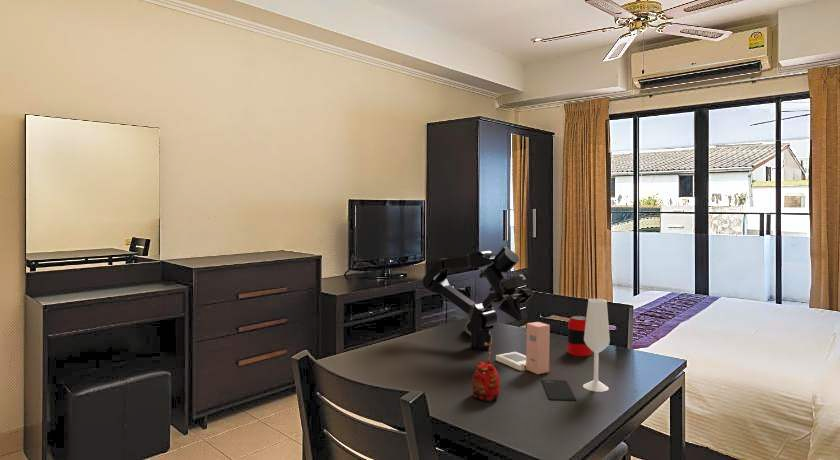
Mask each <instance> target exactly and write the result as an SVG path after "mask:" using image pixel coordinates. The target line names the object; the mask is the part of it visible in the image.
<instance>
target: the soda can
mask: <svg viewBox="0 0 840 460" xmlns="http://www.w3.org/2000/svg"><path fill="white" fill-rule="evenodd" d="M585 324H586V316H581V315H578V316H577V315H575V316H571V317H570V319H569V320H568V321H567V353H568V354H569V355H570V356H575V357H583V358H584V357H589V356H590V355H591V354H592V350H591V349H590V348H589V347H588V346H587V345H586V344H585V342H584V333H585Z"/></svg>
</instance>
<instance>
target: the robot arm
mask: <svg viewBox="0 0 840 460" xmlns="http://www.w3.org/2000/svg"><path fill="white" fill-rule="evenodd" d="M519 262H520V257H519V256H518V254H517V253H516V252H515V251H513V250H511V249H510V248H508V247H507V246H504V247H502V248H501V249H500V251H499V252H498V253H497V254H494V253H493V252H492V250H489V249H483V250H482V249H481V250H475V251H473V252H470V253H468V254H465V255H462V256H455V257H448V258H447V257H444V258H443V257H442V258H438V259H437V260H436V261H435V262H434V265H432V267H430V269H429V270H427V272H426V274H425V275H424V276H423V278H422V286H423V288H424V289H425V290H426V291H428V292H431V293H432V294H433V293H435V294H437V295H438V294H439V295H441V296H442V297H444V298H445V299H446V300H448V301H449V302H450V303H452V304H453V305H455V306H456V307H458V308H459V309H460V310H461V311H462V312H464V313H465V314H466V315H467V316H468V318H470V322H469V323H468V324H467V329H468V331H471V335H470V347H469V349H470V350H477V351H478V350H481V351H489V346H488V345H487V346H485V342H487V344H489V342H490V341H491V338H492V339H493V337H492V336H493V334H492V333H491V330H493V329H494V328H495V324H497V321H498V315H497V312H496V310H494V309H495V308H494V307H493V305H492V304H498V305H499V306H498V307H497V310H499V311H502V312H504V313H505V314H507V315H508V316H510V317H512V318H513V319H514V320H516V321H517V322H521V321H523V316H522V311H521V305H524V304H526V302H528V301H529V300H530V298H532V297H533V296H534V293H533V291H532V290H531V288H521V287H525V285H526V284H527V278H526V277H525V276H524V274H518V275H516V276H513V277H506V276H505V273H509V272H510V271H511V270H512V269H513V268H514V267H515V266H517V264H518V263H519ZM459 267H460V268H461V267H470V268H475V269H476V268H478V269H480V268H484V270H483V269H481V270H480V273H479V276H478V278H479V279H486V281H487V283H488V284H489V285H490V288H489V291H490V292H491V293H490V292H489V293H488V294H487V295H486V297H485V298H484V299H483V300H482V302H480V303H477V302H475V301H473V300H472V299H470V298H469V297H467V296H466V295H465V294H463V293H462V292H460V291H459V290H458V289H456V288H455V287H453V286H452V285H450V283H449V281H448V277H449V270H450V269H451V268H452V269H454V268H459ZM519 288H521V289H519ZM518 289H519V291H518ZM517 291H518V292H517ZM516 292H517V293H516ZM515 293H516V294H515ZM491 343H492V345H493V341H492V342H491ZM492 345H491V347H492Z"/></svg>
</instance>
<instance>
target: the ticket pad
mask: <svg viewBox="0 0 840 460" xmlns="http://www.w3.org/2000/svg"><path fill="white" fill-rule="evenodd" d="M495 361H497V362H499V363H501V364H505V365H507V366H509V367H511V368H513V369H516V370H518V371H522V372H523V371H527V370H526V355H525V354H524V353H523V354H522V353H520V352H518V351H512V352H507V353H502V354H501V353H500V354H496V355H495Z"/></svg>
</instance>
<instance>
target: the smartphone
mask: <svg viewBox="0 0 840 460" xmlns="http://www.w3.org/2000/svg"><path fill="white" fill-rule="evenodd" d="M540 382H541V384H542V387H543V389H544V392H545V395H546V398H547V400H548V401H555V402H556V401H562V402H564V401H565V402H577V397H576V396H575V394H574V392H573V390H572V389H571V386H570V385H569V383H568V381H567V380H564V379H541V381H540Z"/></svg>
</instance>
